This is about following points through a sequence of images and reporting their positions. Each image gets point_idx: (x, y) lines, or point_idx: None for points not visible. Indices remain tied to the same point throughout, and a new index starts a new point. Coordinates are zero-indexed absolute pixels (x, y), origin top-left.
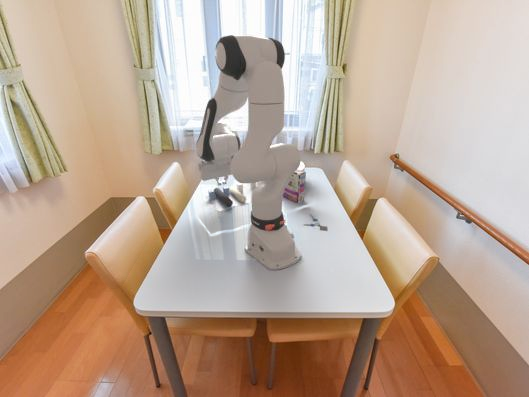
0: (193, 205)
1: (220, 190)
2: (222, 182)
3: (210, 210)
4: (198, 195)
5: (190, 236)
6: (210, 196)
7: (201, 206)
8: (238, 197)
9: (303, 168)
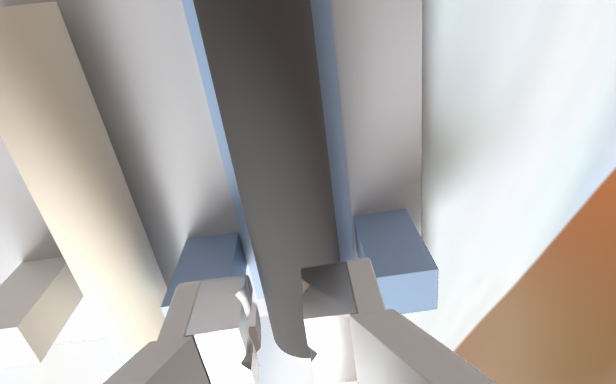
0: (568, 196)
1: (281, 292)
2: (257, 343)
3: (474, 20)
4: (449, 339)
5: None
6: (416, 235)
7: (515, 149)
8: (69, 78)
9: None
